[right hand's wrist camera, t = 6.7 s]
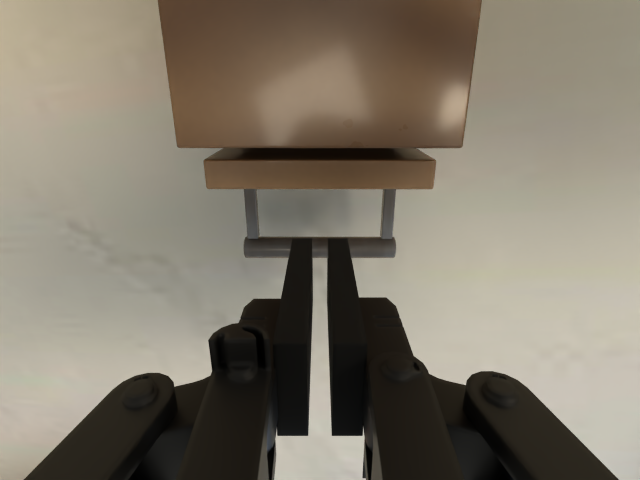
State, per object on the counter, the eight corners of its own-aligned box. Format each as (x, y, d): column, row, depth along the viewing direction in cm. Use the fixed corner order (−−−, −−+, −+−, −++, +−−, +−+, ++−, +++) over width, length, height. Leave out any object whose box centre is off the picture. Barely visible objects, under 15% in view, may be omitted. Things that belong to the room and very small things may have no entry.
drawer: (385, 228, 27) (421, 301, 17) (253, 227, 27) (218, 301, 17) (413, -177, 19) (502, -436, 10) (227, -177, 19) (137, -436, 10)
